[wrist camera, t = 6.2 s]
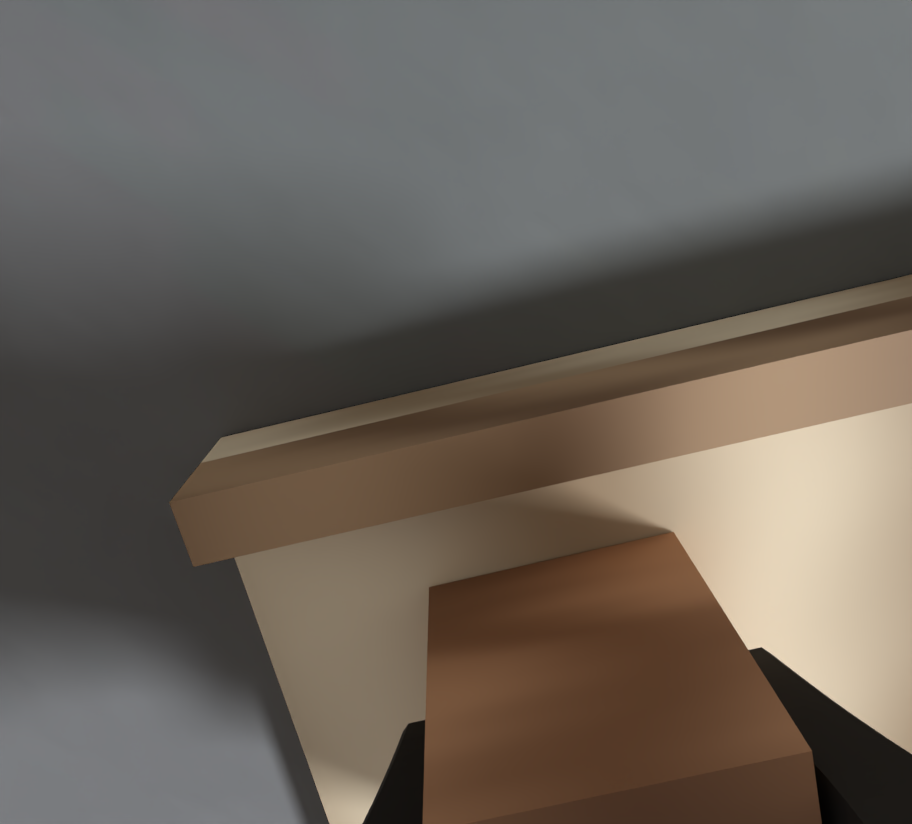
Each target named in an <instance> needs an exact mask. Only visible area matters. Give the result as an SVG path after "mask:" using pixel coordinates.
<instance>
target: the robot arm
mask: <svg viewBox="0 0 912 824" xmlns="http://www.w3.org/2000/svg"><path fill="white" fill-rule="evenodd" d="M749 652H750V654H751V655H752V657H753V658H754V660H755V661H756V663H757V665H758V666H759V668H760V669H761V671H762V673H763V674H764V676H765V677H766V679H767V680H768V682H769V684H770V685H771V687H772V688H773V690H774V692H775V693H776V695H777V696H778V698H779V699H780V701H781V703H782V704H783V706H784V707H785V709H786V711H787V712H788V714H789V715H790V717H791V718H792V720H793V722H794V723H795V725H796V726H797V728H798V730H799V731H800V733H801V734H802V736H803V737H804V739H805V741H806V742H807V744H808V745H809V747H810V749H811V750H812V754H813V762H814V769H815V777H816V784H817V792H818V799H819V806H820V814H821V821H822V824H912V754H911V753H909V752H908V751H906V750H905V749H903V748H902V747H900V746H899V745H897V744H895V743H894V742H892V741H891V740H889V739H888V738H886V737H885V736H883V735H882V734H880V733H879V732H877V731H876V730H875V729H873V728H872V727H870V726H869V725H867V724H866V723H864V722H863V721H861V720H860V719H858V718H857V717H856V716H854V715H853V714H851V713H850V712H848V711H847V710H845V709H844V708H843V707H841V706H840V705H838V704H837V703H836V702H834V701H833V700H832V699H830V698H829V697H828V696H826V695H825V694H823V693H822V692H821V691H819V690H818V689H817V688H815V687H814V686H813V685H811V684H810V683H809V682H807V681H806V680H805V679H803V678H802V677H801V676H799V675H798V674H797V673H796V672H794V671H793V670H792V669H790V668H789V667H788V666H786V665H785V664H784V663H783V662H781V661H780V660H779V659H777V658H776V657H775V656H774V655H772V654H771V653H770V652H768V651H767V650H765V649H763V648H762V647H760V648H756V649H751V650H749ZM424 752H425V720H422V721H417V722H413V723H408V725H407V726H406V728H405V729H404V731H403V733H402V735H401V738H400V740H399V743H398V745H397V748H396V750H395V753H394V755H393V758H392V760H391V762H390V765H389V767H388V769H387V772H386V774H385V776H384V779H383V781H382V783H381V785H380V788H379V790H378V792H377V794H376V797H375V799H374V801H373V803H372V805H371V807H370V809H369V811H368V813H367V815H366V817H365V819H364V821H363V823H362V824H423V789H424Z"/></svg>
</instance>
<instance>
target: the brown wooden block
mask: <svg viewBox="0 0 912 824" xmlns="http://www.w3.org/2000/svg"><path fill="white" fill-rule="evenodd" d="M423 824H822V821H821V814H820V806H819V799H818V792H817V784H816V777H815V769H814V762H813V754H812V750H811V749H810V747H809V745H808V744H807V742H806V741H805V739H804V737H803V736H802V734H801V733H800V731H799V730H798V728H797V726H796V725H795V723H794V722H793V720H792V718H791V717H790V715H789V714H788V712H787V711H786V709H785V707H784V706H783V704H782V703H781V701H780V699H779V698H778V696H777V695H776V693H775V692H774V690H773V688H772V687H771V685H770V684H769V682H768V680H767V679H766V677H765V676H764V674H763V673H762V671H761V669H760V668H759V666H758V665H757V663H756V661H755V660H754V658H753V657H752V655H751V654H750V652H749V650H748V649H747V647H746V646H745V644H744V642H743V641H742V639H741V638H740V636H739V635H738V633H737V631H736V630H735V628H734V627H733V625H732V623H731V622H730V620H729V619H728V617H727V616H726V614H725V612H724V611H723V609H722V608H721V606H720V604H719V603H718V601H717V600H716V598H715V597H714V595H713V593H712V592H711V590H710V589H709V587H708V585H707V584H706V582H705V581H704V579H703V578H702V576H701V574H700V573H699V571H698V570H697V568H696V566H695V565H694V563H693V562H692V560H691V559H690V557H689V555H688V554H687V552H686V551H685V549H684V547H683V546H682V544H681V543H680V541H679V540H678V538H677V536H676V535H675V533H674V532H670V533H666V534H662V535H657V536H653V537H648V538H644V539H640V540H635V541H631V542H626V543H622V544H618V545H613V546H609V547H604V548H600V549H595V550H591V551H587V552H582V553H578V554H573V555H569V556H565V557H560V558H556V559H551V560H547V561H543V562H538V563H534V564H529V565H525V566H521V567H516V568H512V569H507V570H503V571H498V572H494V573H490V574H485V575H481V576H476V577H472V578H468V579H463V580H459V581H454V582H450V583H446V584H441V585H437V586H432V587H429V606H428V642H427V679H426V716H425V752H424V789H423Z"/></svg>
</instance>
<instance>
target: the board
mask: <svg viewBox="0 0 912 824" xmlns="http://www.w3.org/2000/svg"><path fill="white" fill-rule="evenodd" d="M169 503H170V506H171V509H172V511H173V514H174V517H175V519H176V522H177V525H178V527H179V530H180V533H181V535H182V538H183V541H184V543H185V546H186V549H187V551H188V554H189V557H190V559H191V562H192V565H193V567H195V566H200V565H204V564H209V563H213V562H217V561H222V560H226V559H231V558H235V561H236V564H237V566H238V569H239V572H240V575H241V578H242V580H243V583H244V586H245V589H246V592H247V594H248V597H249V600H250V603H251V606H252V608H253V611H254V614H255V617H256V620H257V622H258V625H259V628H260V631H261V634H262V636H263V639H264V642H265V645H266V648H267V650H268V653H269V656H270V659H271V662H272V664H273V667H274V670H275V673H276V676H277V678H278V681H279V684H280V687H281V690H282V692H283V695H284V698H285V701H286V704H287V706H288V709H289V712H290V715H291V718H292V720H293V723H294V726H295V729H296V732H297V734H298V737H299V740H300V743H301V746H302V748H303V751H304V754H305V757H306V760H307V762H308V765H309V768H310V771H311V774H312V776H313V779H314V782H315V785H316V788H317V790H318V793H319V796H320V799H321V801H322V804H323V807H324V810H325V813H326V815H327V818H328V821H329V824H362V823H363V821H364V819H365V817H366V815H367V813H368V811H369V809H370V807H371V805H372V803H373V801H374V799H375V797H376V794H377V792H378V790H379V788H380V785H381V783H382V781H383V779H384V776H385V774H386V772H387V769H388V767H389V765H390V762H391V760H392V758H393V755H394V753H395V750H396V748H397V745H398V743H399V740H400V738H401V735H402V733H403V731H404V729H405V728H406V726H407V725H408V723H413V722H417V721H422V720H425V716H426V679H427V642H428V606H429V587H432V586H437V585H441V584H446V583H450V582H454V581H459V580H463V579H468V578H472V577H476V576H481V575H485V574H490V573H494V572H498V571H503V570H507V569H512V568H516V567H521V566H525V565H529V564H534V563H538V562H543V561H547V560H551V559H556V558H560V557H565V556H569V555H573V554H578V553H582V552H587V551H591V550H595V549H600V548H604V547H609V546H613V545H618V544H622V543H626V542H631V541H635V540H640V539H644V538H648V537H653V536H657V535H662V534H666V533H670V532H674V533H675V535H676V536H677V538H678V540H679V541H680V543H681V544H682V546H683V547H684V549H685V551H686V552H687V554H688V555H689V557H690V559H691V560H692V562H693V563H694V565H695V566H696V568H697V570H698V571H699V573H700V574H701V576H702V578H703V579H704V581H705V582H706V584H707V585H708V587H709V589H710V590H711V592H712V593H713V595H714V597H715V598H716V600H717V601H718V603H719V604H720V606H721V608H722V609H723V611H724V612H725V614H726V616H727V617H728V619H729V620H730V622H731V623H732V625H733V627H734V628H735V630H736V631H737V633H738V635H739V636H740V638H741V639H742V641H743V642H744V644H745V646H746V647H747V649H748V650H751V649H756V648H760V647H762V648H763V649H765V650H767V651H768V652H770V653H771V654H772V655H774V656H775V657H776V658H777V659H779V660H780V661H781V662H783V663H784V664H785V665H786V666H788V667H789V668H790V669H792V670H793V671H794V672H796V673H797V674H798V675H799V676H801V677H802V678H803V679H805V680H806V681H807V682H809V683H810V684H811V685H813V686H814V687H815V688H817V689H818V690H819V691H821V692H822V693H823V694H825V695H826V696H828V697H829V698H830V699H832V700H833V701H834V702H836V703H837V704H838V705H840V706H841V707H843V708H844V709H845V710H847V711H848V712H850V713H851V714H853V715H854V716H856V717H857V718H858V719H860V720H861V721H863V722H864V723H866V724H867V725H869V726H870V727H872V728H873V729H875V730H876V731H877V732H879V733H880V734H882V735H883V736H885V737H886V738H888V739H889V740H891V741H892V742H894V743H895V744H897V745H899V746H900V747H902V748H903V749H905V750H906V751H908V752H909V753H911V754H912V274H911V275H907V276H903V277H899V278H895V279H890V280H886V281H882V282H878V283H873V284H869V285H865V286H861V287H856V288H852V289H848V290H844V291H840V292H835V293H831V294H827V295H823V296H818V297H814V298H810V299H806V300H801V301H797V302H793V303H789V304H784V305H780V306H776V307H772V308H768V309H763V310H759V311H755V312H751V313H746V314H742V315H738V316H734V317H729V318H725V319H721V320H717V321H712V322H708V323H704V324H700V325H696V326H691V327H687V328H683V329H679V330H674V331H670V332H666V333H662V334H657V335H653V336H649V337H645V338H641V339H636V340H632V341H628V342H624V343H619V344H615V345H611V346H607V347H602V348H598V349H594V350H590V351H585V352H581V353H577V354H573V355H569V356H564V357H560V358H556V359H552V360H547V361H543V362H539V363H535V364H530V365H526V366H522V367H518V368H513V369H509V370H505V371H501V372H497V373H492V374H488V375H484V376H480V377H475V378H471V379H467V380H463V381H458V382H454V383H450V384H446V385H441V386H437V387H433V388H429V389H425V390H420V391H416V392H412V393H408V394H403V395H399V396H395V397H391V398H386V399H382V400H378V401H374V402H370V403H365V404H361V405H357V406H353V407H348V408H344V409H340V410H336V411H331V412H327V413H323V414H319V415H314V416H310V417H306V418H302V419H298V420H293V421H289V422H285V423H281V424H276V425H272V426H268V427H264V428H259V429H255V430H251V431H247V432H242V433H238V434H234V435H230V436H226V437H221V438H220V439H219V441H218V442H217V443H216V444H215V446H214V447H213V448H212V449H211V451H210V452H209V453H208V454H207V456H206V457H205V458H204V459H203V461H202V462H201V463H200V465H199V466H198V467H197V468H196V470H195V471H194V472H193V473H192V475H191V476H190V477H189V478H188V480H187V481H186V482H185V483H184V485H183V486H182V487H181V488H180V490H179V491H178V492H177V493H176V495H175V496H174V497H173V498H172V500H171V501H170V502H169Z"/></svg>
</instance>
